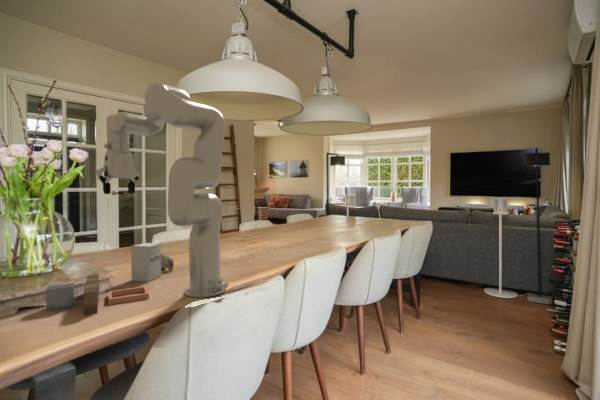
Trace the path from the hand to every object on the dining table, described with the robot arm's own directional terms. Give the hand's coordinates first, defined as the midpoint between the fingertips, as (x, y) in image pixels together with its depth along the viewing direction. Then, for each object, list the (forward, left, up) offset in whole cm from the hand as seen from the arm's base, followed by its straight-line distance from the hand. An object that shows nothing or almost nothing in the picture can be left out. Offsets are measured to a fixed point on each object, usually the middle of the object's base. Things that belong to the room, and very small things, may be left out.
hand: (119, 193), depth 129 cm
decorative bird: (-7, -12, -31) cm, 34 cm away
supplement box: (-15, 0, -31) cm, 35 cm away
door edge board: (-24, +24, -31) cm, 46 cm away
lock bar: (-20, +30, -31) cm, 48 cm away
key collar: (-29, +15, -31) cm, 45 cm away
